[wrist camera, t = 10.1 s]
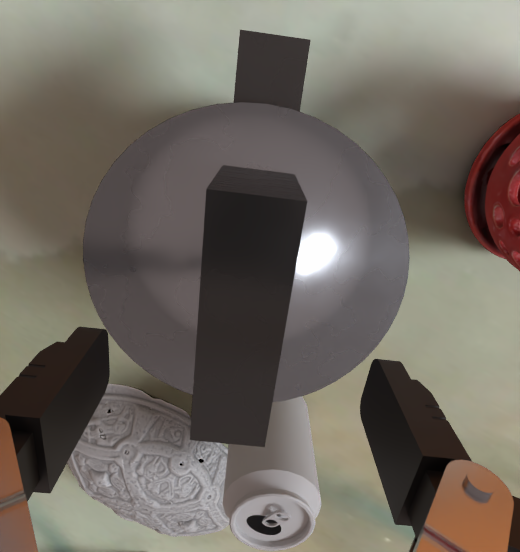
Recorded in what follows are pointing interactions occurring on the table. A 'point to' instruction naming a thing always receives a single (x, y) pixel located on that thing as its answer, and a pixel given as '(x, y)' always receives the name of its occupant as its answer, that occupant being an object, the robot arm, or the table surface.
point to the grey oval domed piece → (151, 465)
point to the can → (274, 482)
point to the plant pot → (497, 193)
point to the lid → (245, 260)
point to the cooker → (271, 69)
